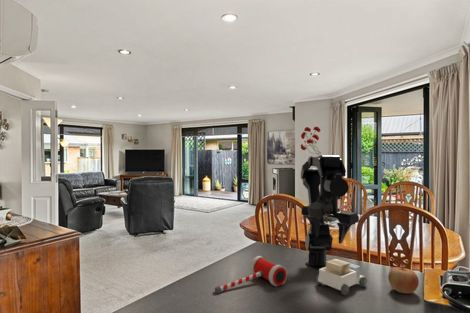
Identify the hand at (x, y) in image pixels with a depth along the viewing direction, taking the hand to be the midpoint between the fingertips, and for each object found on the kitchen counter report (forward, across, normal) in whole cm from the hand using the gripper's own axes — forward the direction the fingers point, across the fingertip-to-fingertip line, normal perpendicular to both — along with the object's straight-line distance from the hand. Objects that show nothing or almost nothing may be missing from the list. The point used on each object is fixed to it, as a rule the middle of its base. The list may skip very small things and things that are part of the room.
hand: (328, 240), depth 100 cm
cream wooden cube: (+10, +5, -2) cm, 12 cm away
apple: (+13, +19, +11) cm, 26 cm away
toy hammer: (+14, -12, -22) cm, 28 cm away
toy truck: (+13, +6, 0) cm, 14 cm away
